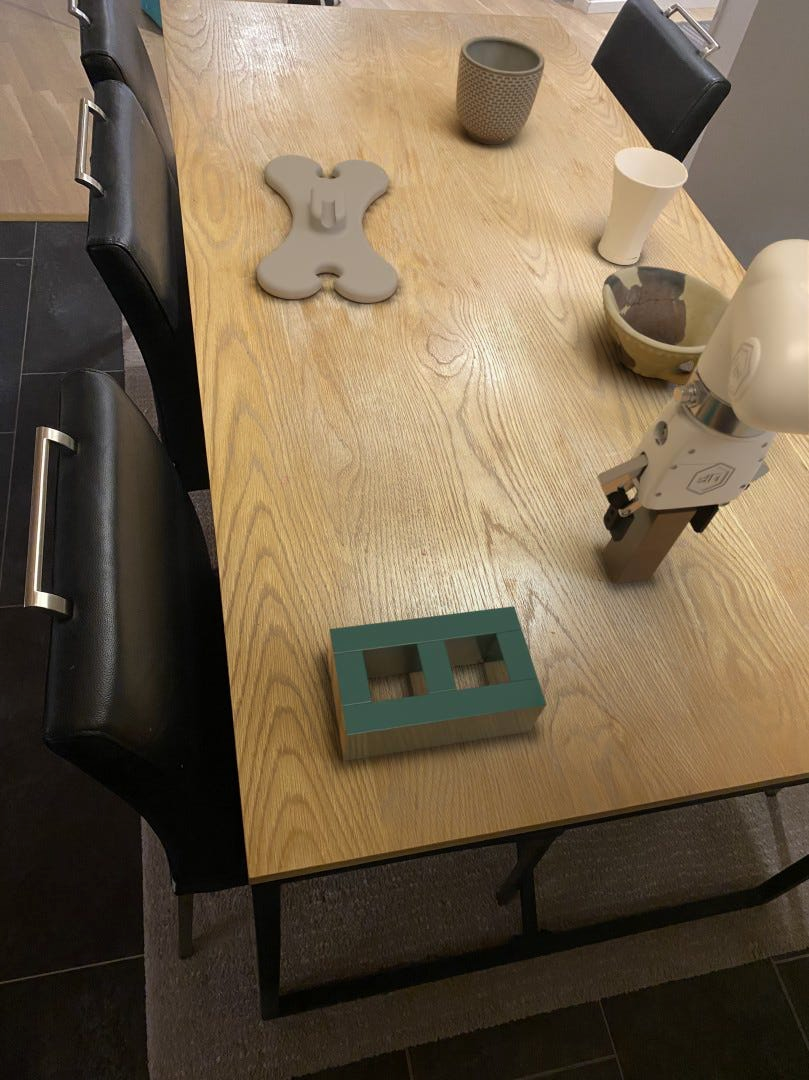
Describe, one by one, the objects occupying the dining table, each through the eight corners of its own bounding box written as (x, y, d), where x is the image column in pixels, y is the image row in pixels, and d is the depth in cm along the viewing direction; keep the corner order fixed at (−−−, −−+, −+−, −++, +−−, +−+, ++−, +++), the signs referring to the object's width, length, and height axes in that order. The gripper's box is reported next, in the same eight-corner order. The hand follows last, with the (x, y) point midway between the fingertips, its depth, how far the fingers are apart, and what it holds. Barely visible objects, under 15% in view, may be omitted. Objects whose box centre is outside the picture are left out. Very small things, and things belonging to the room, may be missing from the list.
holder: (255, 299, 100) (253, 266, 96) (266, 163, 120) (265, 131, 116) (398, 306, 103) (402, 275, 99) (386, 172, 122) (389, 141, 118)
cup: (643, 235, 120) (678, 150, 109) (658, 276, 114) (696, 190, 103) (579, 230, 119) (607, 143, 108) (591, 271, 112) (622, 183, 102)
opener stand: (529, 731, 69) (546, 704, 64) (343, 761, 66) (346, 735, 61) (500, 636, 75) (514, 605, 70) (327, 659, 71) (329, 628, 66)
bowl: (738, 383, 101) (774, 325, 93) (638, 424, 94) (668, 365, 87) (651, 305, 109) (677, 246, 101) (553, 338, 102) (573, 277, 95)
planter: (531, 125, 137) (550, 46, 126) (520, 162, 129) (539, 81, 118) (456, 108, 138) (469, 28, 127) (441, 144, 129) (453, 61, 119)
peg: (649, 579, 81) (697, 510, 71) (614, 584, 80) (658, 514, 70) (635, 549, 83) (680, 478, 73) (602, 552, 82) (642, 481, 72)
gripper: (652, 437, 57) (583, 566, 71) (850, 422, 61) (747, 547, 75) (617, 369, 61) (558, 504, 75) (804, 358, 65) (714, 489, 79)
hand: (652, 525), depth 75 cm, fingers open, 8 cm apart
